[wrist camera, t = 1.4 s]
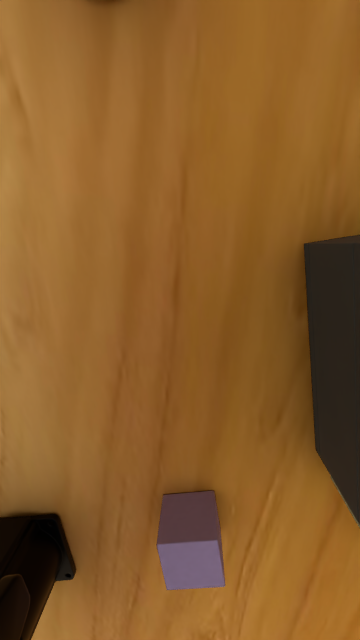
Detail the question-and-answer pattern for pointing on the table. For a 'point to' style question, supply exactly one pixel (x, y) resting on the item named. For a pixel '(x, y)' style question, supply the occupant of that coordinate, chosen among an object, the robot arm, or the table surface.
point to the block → (190, 541)
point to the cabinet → (336, 358)
